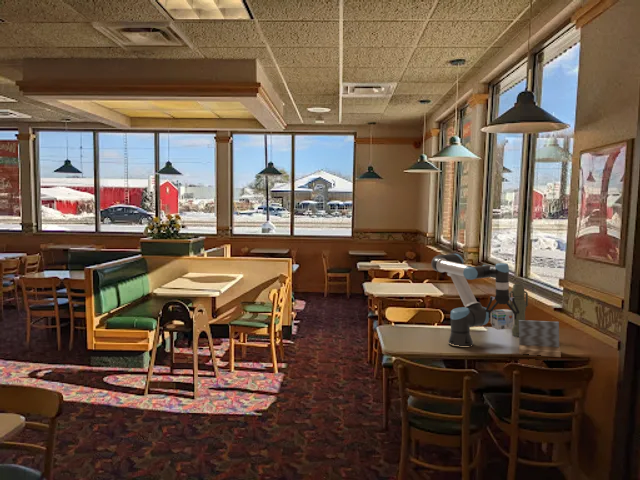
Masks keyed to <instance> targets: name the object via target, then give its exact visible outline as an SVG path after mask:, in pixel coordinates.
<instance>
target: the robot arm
mask: <svg viewBox="0 0 640 480" xmlns="http://www.w3.org/2000/svg"><path fill="white" fill-rule="evenodd" d="M430 264H431V268H432V270H433V271H436V272H439V273H446V275H447V276H448V277H450V278H451V281H452V282H453V284H454V287H455V289H456V291H457V293H458V295H459V297H460V299H461V302H462V304H463V306H461V307H456V308H453V309H452V310H450V316H449V318H450V334H449V339H448V342H449V343H451V344H454V345H459V346H471V345H473V344H474V340H473V338H472V336H471V332H470V331H471V330H470V328H474V327H482V326H485V325H487V324H488V322H489V321H490V324H491V325H492V310H495V307H497V306H498V305H506V306H507V307H508V309H509V310H511V311H512V312H513V313H514V314H513V325H514V319H516V314H519V313H520V312H519V309H518V307H517V305H516V303H515V299H514V297H513V296H511V298H510V297H509V293H510V268H509V266H510V265H509V264H508V263H504V262H503V263H502V262H498V263H496V264H495V265H492V264H483V265H478V266H473V265H468V264H464V259H463V257H462V256H461V255H460V254H458V253H447V254H446V253H445V254H437V255H435V256H433V258H432V259H431V263H430ZM486 278H492V279H495V296H490V297H489V301H488V304H487V307H484V306H482V303H481V302H479V301H477V299H476V297H475V294H474V293H473V290H472V289H471V286H470V283H469V282H468V280H471V281H472V280H479V279H486ZM494 300H495V301H496V302H495V303H494V304H493V305H492V302H493V301H494ZM509 300H511V303H512V302H513V304H514V306H515V309H516V311H515V310H514V309H513V307H512V306H511V305H512V304H511V305H510V304H509ZM491 305H492V306H491ZM490 307H491V308H490ZM473 346H474V345H473ZM471 347H472V346H471Z"/></svg>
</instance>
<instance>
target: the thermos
mask: <svg viewBox="0 0 640 480" xmlns="http://www.w3.org/2000/svg"><path fill="white" fill-rule="evenodd" d="M509 297H510V298H512V297H514V299H515V303H516V305H517V307H518V309H519V312H520V313H519V314H516V319H514V325H513V329H511V333H512V334H511V335H512V337H514V338H519V320H526V309H527V308H526V307H528V306H529V293H528V292H527V291H526V290H525V287H524V285H523V284H522V283H515V284H513V286H512V288H511V291H510V290H509ZM508 302H509V304H510V305H511V306H512V307H513V309H514V310H515V311H516V309H515V306H514V304H513V302H512V301H511V300H509V301H508ZM513 314H514V313H513Z"/></svg>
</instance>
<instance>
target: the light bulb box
mask: <svg viewBox="0 0 640 480" xmlns="http://www.w3.org/2000/svg"><path fill="white" fill-rule="evenodd" d="M491 312H492V324H491V328H493V329H495V330H508V329H509V330H512V329H513V312H512V310H511V309H509V308H503V309H493V310H492V311H491Z"/></svg>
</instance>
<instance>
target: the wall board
mask: <svg viewBox="0 0 640 480" xmlns="http://www.w3.org/2000/svg"><path fill="white" fill-rule="evenodd" d="M518 341H519V342H518V345H519V347H518V348H519V350H518V351H519V352H518V353H519V355H523V354H529V355H528V356H537V355H541V356H540V357H553V358H554V357H555V358H561V357H562V356H561V354H562V353H561V352H562V351H561V348H560V321H548V320H547V321H546V320H529V319H528V320H526V319H525V320H519V337H518Z"/></svg>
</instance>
